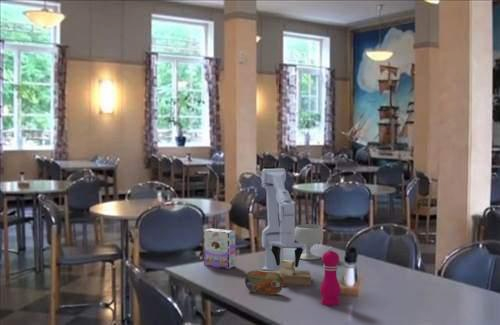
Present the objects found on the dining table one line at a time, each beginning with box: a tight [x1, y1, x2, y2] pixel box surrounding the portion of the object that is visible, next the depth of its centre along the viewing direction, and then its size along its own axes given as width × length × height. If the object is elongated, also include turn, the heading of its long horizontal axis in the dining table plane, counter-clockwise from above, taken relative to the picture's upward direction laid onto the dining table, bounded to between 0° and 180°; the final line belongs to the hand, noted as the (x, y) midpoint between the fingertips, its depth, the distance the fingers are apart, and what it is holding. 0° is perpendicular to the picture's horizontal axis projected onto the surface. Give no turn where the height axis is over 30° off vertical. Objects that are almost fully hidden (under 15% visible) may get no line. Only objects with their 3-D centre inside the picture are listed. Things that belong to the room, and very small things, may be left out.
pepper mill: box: [319, 246, 342, 307], centre depth 200 cm, size 7×7×20 cm
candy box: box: [203, 227, 236, 270], centre depth 253 cm, size 14×6×16 cm, turn 58°
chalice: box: [295, 223, 324, 261], centre depth 270 cm, size 14×14×15 cm
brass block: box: [269, 270, 312, 287], centre depth 227 cm, size 10×18×4 cm, turn 89°
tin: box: [244, 269, 284, 296], centre depth 213 cm, size 15×3×8 cm, turn 62°
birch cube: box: [280, 259, 296, 276], centre depth 227 cm, size 4×4×5 cm
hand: (287, 265), depth 227 cm, fingers open, 7 cm apart
